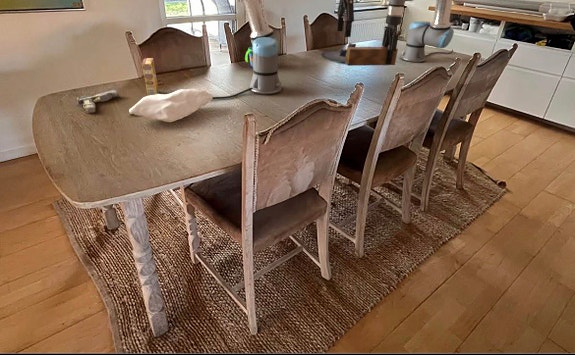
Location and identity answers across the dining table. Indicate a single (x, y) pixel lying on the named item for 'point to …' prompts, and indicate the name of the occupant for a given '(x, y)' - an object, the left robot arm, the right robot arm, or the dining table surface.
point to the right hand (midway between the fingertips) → (386, 62)
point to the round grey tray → (337, 54)
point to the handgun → (95, 100)
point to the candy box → (150, 76)
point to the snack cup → (250, 52)
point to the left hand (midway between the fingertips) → (343, 34)
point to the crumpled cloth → (171, 104)
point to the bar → (368, 56)
